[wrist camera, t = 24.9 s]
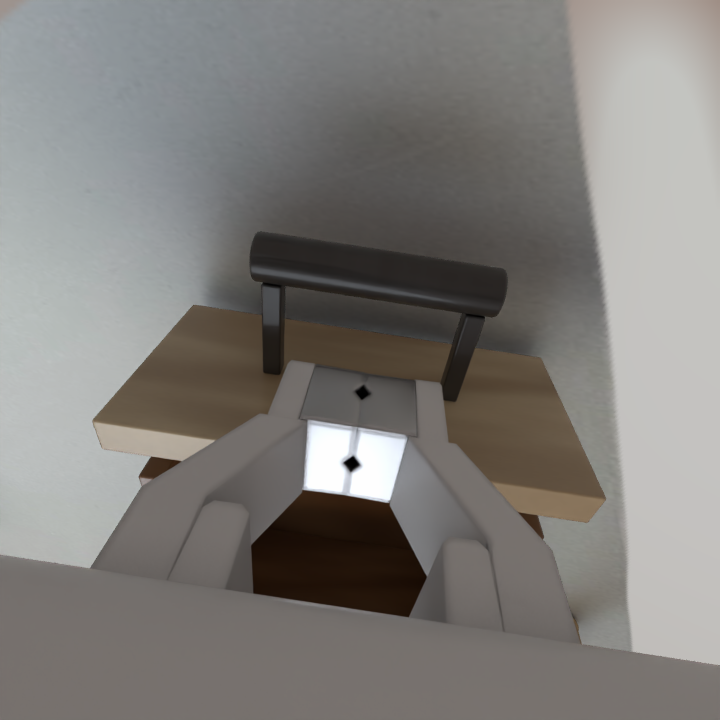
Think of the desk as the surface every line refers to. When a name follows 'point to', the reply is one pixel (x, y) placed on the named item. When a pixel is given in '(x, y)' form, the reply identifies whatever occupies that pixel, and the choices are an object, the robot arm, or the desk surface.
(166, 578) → the robot arm
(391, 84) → the desk surface
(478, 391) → the drawer
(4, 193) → the desk surface
